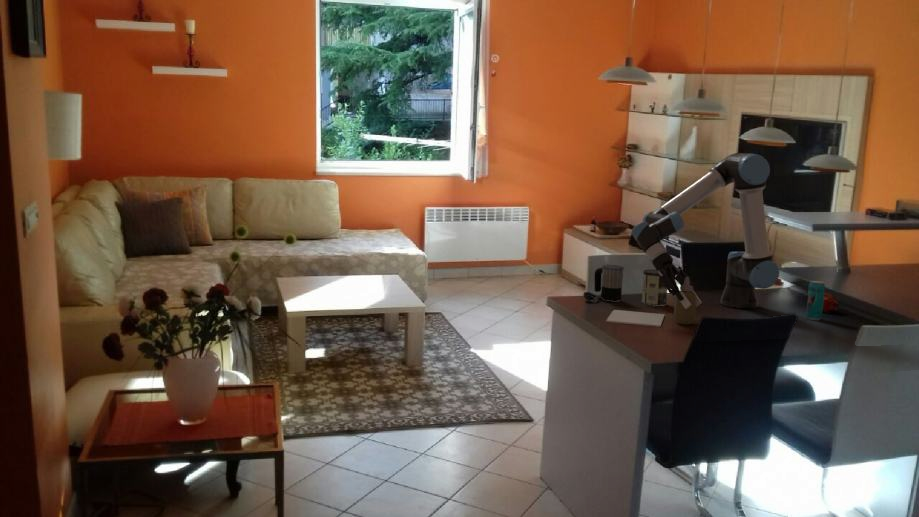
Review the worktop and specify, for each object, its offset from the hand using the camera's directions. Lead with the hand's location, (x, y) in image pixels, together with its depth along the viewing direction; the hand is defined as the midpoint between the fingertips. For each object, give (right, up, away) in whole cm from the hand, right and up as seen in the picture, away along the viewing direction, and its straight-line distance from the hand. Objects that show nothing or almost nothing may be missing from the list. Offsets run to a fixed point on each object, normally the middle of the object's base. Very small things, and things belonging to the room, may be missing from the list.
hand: (693, 305), depth 304 cm
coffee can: (-6, -2, +37) cm, 38 cm away
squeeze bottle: (-3, -7, +4) cm, 8 cm away
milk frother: (-27, -1, +41) cm, 49 cm away
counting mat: (-20, -6, +9) cm, 22 cm away
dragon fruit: (+64, -4, +31) cm, 71 cm away
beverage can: (+52, -6, +16) cm, 55 cm away
